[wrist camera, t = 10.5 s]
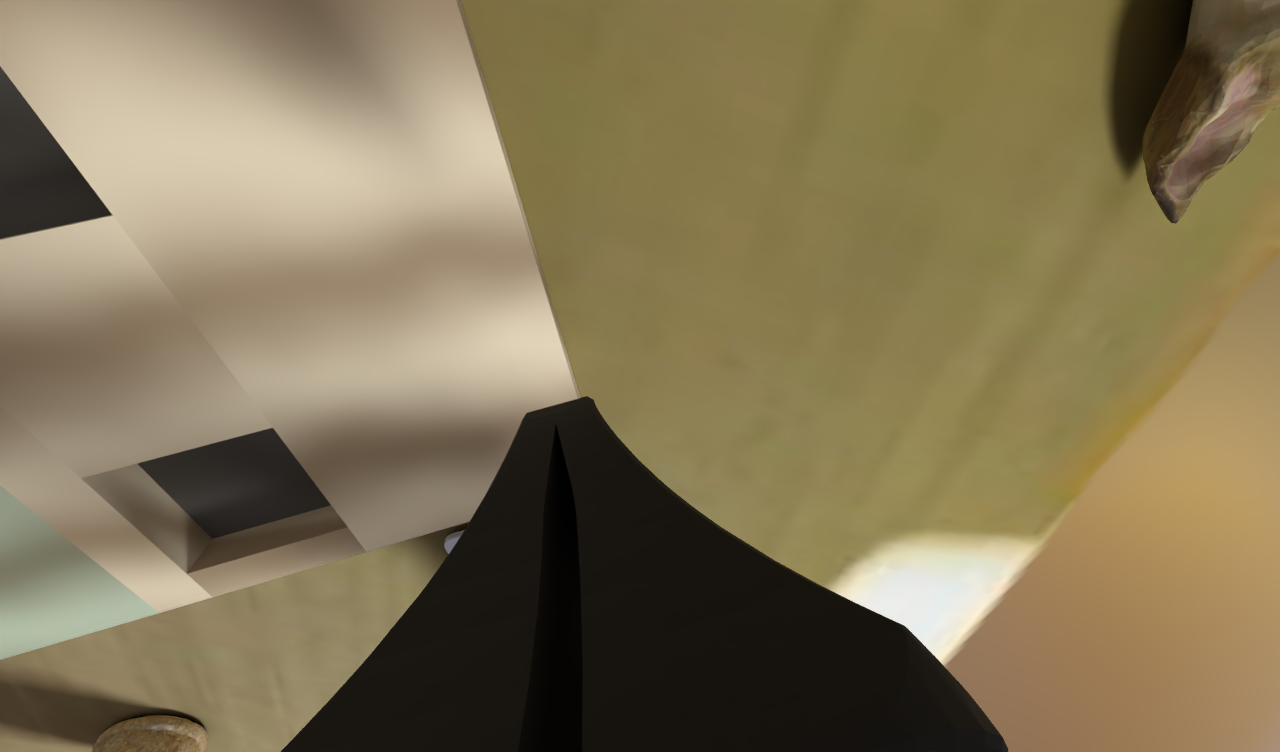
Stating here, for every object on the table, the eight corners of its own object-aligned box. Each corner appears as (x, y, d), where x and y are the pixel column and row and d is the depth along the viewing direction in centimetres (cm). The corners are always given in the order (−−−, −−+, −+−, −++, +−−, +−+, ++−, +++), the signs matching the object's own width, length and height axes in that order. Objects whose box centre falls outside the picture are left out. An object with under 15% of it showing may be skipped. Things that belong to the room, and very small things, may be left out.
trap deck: (597, 453, 22) (611, 516, 18) (-14, 628, 19) (-131, 740, 16) (410, -168, 11) (360, -292, 8) (-971, 42, 9) (-1931, -8, 5)
